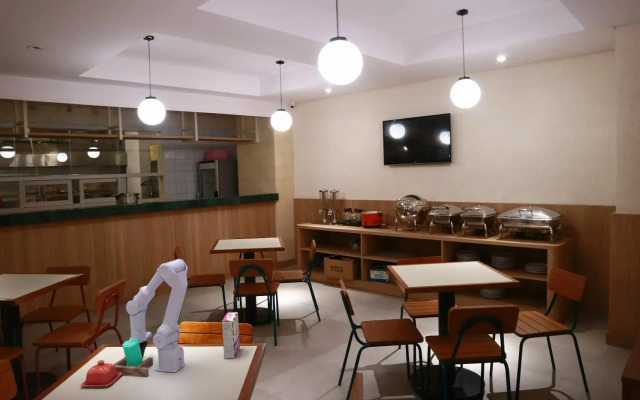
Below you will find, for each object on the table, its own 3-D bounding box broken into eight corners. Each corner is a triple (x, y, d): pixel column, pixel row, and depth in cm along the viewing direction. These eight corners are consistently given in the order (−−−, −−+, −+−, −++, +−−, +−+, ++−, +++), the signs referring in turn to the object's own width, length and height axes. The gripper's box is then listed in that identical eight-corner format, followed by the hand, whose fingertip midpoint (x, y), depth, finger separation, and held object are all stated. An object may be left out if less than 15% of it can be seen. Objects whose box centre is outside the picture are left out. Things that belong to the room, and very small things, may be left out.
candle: (145, 360, 191) (140, 334, 188) (139, 369, 185) (133, 343, 182) (131, 361, 191) (125, 335, 188) (125, 370, 186) (119, 344, 182)
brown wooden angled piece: (161, 365, 189) (161, 358, 189) (146, 376, 179) (145, 369, 178) (119, 362, 193) (118, 355, 193) (101, 373, 183) (101, 365, 183)
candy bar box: (228, 348, 204) (227, 312, 203) (240, 348, 204) (238, 311, 203) (223, 359, 193) (221, 320, 192) (235, 358, 193) (233, 320, 191)
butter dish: (95, 375, 182) (94, 354, 181) (124, 375, 181) (122, 354, 181) (78, 389, 171) (77, 367, 170) (108, 389, 170) (107, 367, 169)
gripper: (140, 321, 198) (142, 352, 199) (118, 333, 184) (120, 366, 185) (154, 322, 197) (156, 353, 198) (133, 334, 183) (135, 368, 184)
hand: (140, 359), depth 191 cm, fingers closed
